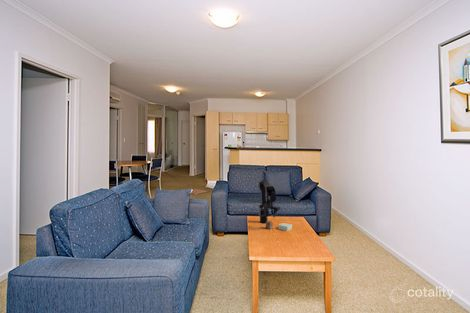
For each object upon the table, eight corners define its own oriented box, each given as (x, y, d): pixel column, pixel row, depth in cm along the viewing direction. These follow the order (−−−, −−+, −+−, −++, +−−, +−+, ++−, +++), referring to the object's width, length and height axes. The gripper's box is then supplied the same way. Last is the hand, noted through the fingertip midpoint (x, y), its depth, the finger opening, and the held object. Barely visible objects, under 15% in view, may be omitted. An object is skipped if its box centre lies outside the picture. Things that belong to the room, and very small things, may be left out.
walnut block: (265, 228, 236) (265, 221, 236) (268, 227, 240) (268, 220, 239) (270, 229, 233) (270, 222, 233) (272, 228, 237) (272, 221, 237)
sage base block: (278, 229, 235) (278, 224, 235) (282, 227, 242) (282, 222, 242) (287, 231, 230) (287, 226, 229) (291, 228, 237) (291, 224, 237)
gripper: (256, 199, 235) (256, 217, 235) (274, 202, 224) (274, 220, 224) (262, 198, 244) (262, 214, 244) (280, 200, 233) (280, 217, 233)
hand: (269, 216), depth 236 cm, fingers open, 9 cm apart
